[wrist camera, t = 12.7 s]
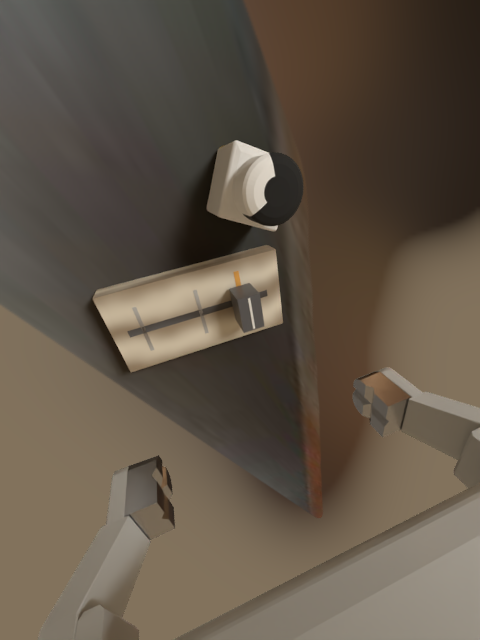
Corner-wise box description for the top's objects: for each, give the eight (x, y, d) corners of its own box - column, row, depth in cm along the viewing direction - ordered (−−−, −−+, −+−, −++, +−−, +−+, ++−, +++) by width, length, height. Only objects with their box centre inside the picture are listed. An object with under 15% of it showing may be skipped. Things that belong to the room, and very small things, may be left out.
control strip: (96, 289, 34) (92, 298, 31) (267, 244, 38) (275, 249, 35) (132, 360, 40) (130, 372, 37) (275, 314, 44) (283, 323, 41)
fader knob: (228, 288, 35) (237, 300, 32) (249, 282, 36) (259, 293, 32) (235, 319, 38) (244, 333, 34) (254, 313, 38) (264, 326, 35)
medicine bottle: (270, 166, 33) (324, 160, 23) (255, 223, 36) (297, 240, 26) (217, 146, 30) (251, 130, 20) (205, 210, 33) (230, 223, 23)
